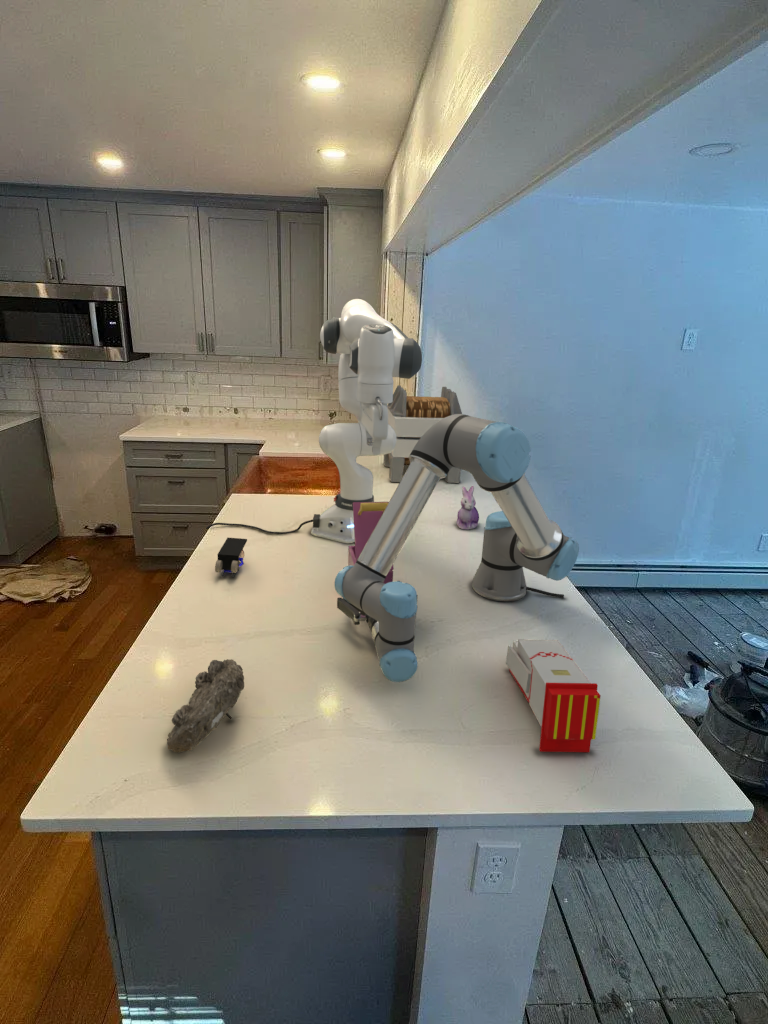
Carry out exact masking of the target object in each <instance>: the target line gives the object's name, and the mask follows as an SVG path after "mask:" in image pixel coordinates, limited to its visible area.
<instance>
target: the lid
mask: <svg viewBox="0 0 768 1024" xmlns="http://www.w3.org/2000/svg"><path fill="white" fill-rule="evenodd" d="M388 503H389V501H374V502H353V518H354V536H355V542H354V546H355V554H356V561H357V559H358V557H359V556H360V554H361V552H362V550H363V548H364V547H365V545H366V543H367V541H368V539H369V537H370V536H371V534H372V532H373V530H374V528H375V527H376V525H377V523H378V521H379V519H380V517H381V516H382V514H383V512H384V510H385V508H386V507H387V505H388ZM394 569H395V567H394V564H393V565H392V567H391V569H390V570H394Z"/></svg>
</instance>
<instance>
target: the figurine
mask: <svg viewBox="0 0 768 1024" xmlns="http://www.w3.org/2000/svg"><path fill="white" fill-rule="evenodd" d="M474 490H475V486H474V485H471V487H469V490H467V488H466V487H465V486H462V487H461V491H462V497H461V500H460V505H461V508H460V509H458V510H457V515H456V516H457V519H456V526H458V528H459V529H461V530H473V529H475V528H477V527H478V525H479V521H480V514H479V511H478V509H477V507H476V504H477V502H476V499H475V496H474V492H475V491H474Z"/></svg>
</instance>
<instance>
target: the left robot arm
mask: <svg viewBox="0 0 768 1024" xmlns="http://www.w3.org/2000/svg"><path fill="white" fill-rule="evenodd" d="M319 339H320V344H321V345H322V348H323V350H324V351H325V352H326V353H327V354H332V355H336V354H340V355H339V359H338V373H337V374H338V375H337V378H338V379H337V382H338V401H339V405H340V407H341V408H342V409H343V410H344V411H346V412H347V413H349V414H351V415H353V416H354V417H355V418H356V419H357V422H337V423H332V424H328V425H325V426H324V427H322V429H321V430H320V432H319V435H318V444H319V447H320V450H321V451H322V452H323V454H325V455H326V456H327V457H329V458H330V459H331V460H332V462H333V463H334V464H335V466H336V467H337V470H338V474H339V483H340V484H339V485H340V488H339V489H340V490H339V491H338V492H337V494H336V495H335V496H334V497H333V502H334V504H333V505H331V506H329V507H328V508H326V509H325V510H323V512H321V514H320V513H315V514H313V518H312V519H310V520H306V521H304V522H303V521H302V523H300V524H299V525H298V527H297V528H296V529H293V530H291V531H271V530H266V529H263V528H261V527H257V526H255V525H249V524H243V523H227V522H213V523H211V524H209V525H208V526H206V528H205V530H208V529H210V528H211V527H214V526H228V527H229V526H231V527H245V528H251V529H254V530H258V531H260V532H262V533H266V534H270V535H271V534H273V535H286V534H292V533H296V532H298V531H300V530H301V528H302V527H303V526H304V525H306V524H309V523H312V528H311V530H310V533H311V536H315V537H319V538H323V539H326V540H330V541H336V542H339V543H343V544H352V543H355V536H354V518H353V502H375V496H374V474H373V472H372V471H371V469H369V468H368V467H366V466H364V465H362V464H360V463H359V462H357V458H358V457H380V456H384V454H388V453H391V452H392V451H393V449H394V448H395V445H396V440H397V438H396V433H395V431H394V429H393V428H392V427H391V426H390V425H389V424H388V409H387V405H388V403H392V402H393V394H394V378H399V379H405V380H406V379H408V380H410V379H411V378H413V377H415V375H417V373H419V372H420V370H421V368H422V363H423V354H422V352H423V351H422V349H421V345H420V344H419V343H418V342H417V341H416V340H415V339H414V338H413V337H412V338H411V337H408V336H407V334H405V333H404V331H402V329H400V328H399V327H398V326H397V325H396V324H394V323H392V322H391V321H389V320H387V319H386V318H384V317H382V316H380V315H379V314H378V313H377V312H376V310H375V309H374V307H373V306H372V305H371V304H370V303H369V302H367V301H366V300H364V299H360V298H353V299H350V300H349V301H347V302H346V303H345V304H344V306H343V308H342V310H341V315H340V317H336V316H335V315H334V316H333V317H332V318H329V319H327V320H325V322H323V323H322V327H321V329H320V333H319Z"/></svg>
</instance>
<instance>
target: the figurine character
mask: <svg viewBox="0 0 768 1024" xmlns="http://www.w3.org/2000/svg"><path fill="white" fill-rule="evenodd" d="M247 542H248V538H240V537H226V539H225V541H224V543H223V544H222V546H221V547H220V549H219V551H218V552H217V560H216V562H215V564H214V572H215V573H221V577H222V578H224V577H225V576H226V574H227V573H230V574H231V573H232V574H231V578H234V577H235V575H236V573H237V572H239V571H240V567H242V566H243V565H244V564H245V562H244V558H245V551H244V547H245V546H246V544H247Z"/></svg>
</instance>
